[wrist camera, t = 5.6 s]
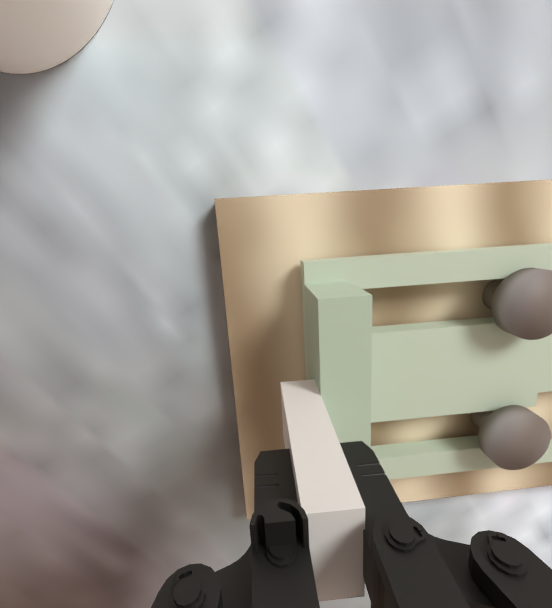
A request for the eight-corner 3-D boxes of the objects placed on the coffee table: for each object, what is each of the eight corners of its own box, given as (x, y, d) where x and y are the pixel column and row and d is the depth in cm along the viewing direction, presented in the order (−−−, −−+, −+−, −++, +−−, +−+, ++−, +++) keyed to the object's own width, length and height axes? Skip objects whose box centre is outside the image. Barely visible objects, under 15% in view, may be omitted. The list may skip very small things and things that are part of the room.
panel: (309, 473, 18) (325, 541, 14) (300, 260, 15) (317, 271, 11) (593, 443, 19) (681, 499, 15) (635, 237, 16) (756, 240, 12)
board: (247, 503, 20) (246, 563, 16) (217, 200, 16) (206, 193, 12) (663, 456, 22) (745, 502, 18) (739, 170, 17) (867, 156, 14)
